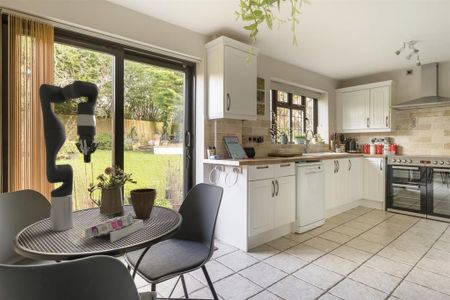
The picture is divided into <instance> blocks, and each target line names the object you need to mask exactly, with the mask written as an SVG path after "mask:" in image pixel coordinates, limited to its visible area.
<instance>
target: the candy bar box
mask: <svg viewBox="0 0 450 300" xmlns="http://www.w3.org/2000/svg"><path fill="white" fill-rule="evenodd" d="M119 217H120V218H117V219H114V220H111V221H108V222H105V223H102V222H101V223H102V224H99V223H98V224H99V225H96V224H95V225H96V226H93V225H92V226H93V227H91V229H92V233H93V235H92V236H93V238H95V237H101V236H104V235H106V234H110V233H111V232H114V231H116V230H119V229H121V228H123V227H126V226H129V225H131V224H134V219H135V218H134V216H133V214H132V213H130V214H126V215H122V216H119Z"/></svg>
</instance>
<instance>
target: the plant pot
mask: <svg viewBox="0 0 450 300" xmlns="http://www.w3.org/2000/svg"><path fill="white" fill-rule="evenodd" d="M156 195H157V189H156V188H151V187H149V188H147V187H145V188H136V189H135V188H134V189H132V190H130V191H129V196H130V200H131V205H132V208H133V209H132V210H133V211H134V214H135V217H136V219H139V220H143V219H144V220H145V219H149V218H150V217H151V215H152V212H153V208H154V204H155V202H156Z"/></svg>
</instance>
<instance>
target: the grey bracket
mask: <svg viewBox="0 0 450 300" xmlns="http://www.w3.org/2000/svg"><path fill="white" fill-rule="evenodd" d="M120 217H121V216H116V217H113V218H111V219H107V220H105V221H101V222H99V223H97V224H94V225H91V226H89V227H86V228H84V238H88V237H90V236H93V233H92V229H91V227H93V226H96V225H99V224H102V223H105V222H108V221H111V220H114V219H117V218H120ZM133 219H134V224H131V225H129V226H126V227H123V228H120V229H118V230H115V231H112V232H109V235H110V243H114V242H115V241H118V240H120V239H123V238H124V237H126V236H128V235H131V234H133V233H135V232H136V231H139V230H141V229H143V228H144V220H143V219H138V218H133Z"/></svg>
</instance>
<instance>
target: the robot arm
mask: <svg viewBox="0 0 450 300" xmlns="http://www.w3.org/2000/svg"><path fill="white" fill-rule="evenodd" d="M99 91H100V90H99V87H98V85H97V84H96V83H94V82H90V81H89V82H88V81H85V80H78V79H77V80H74V81H73V82H72V83H69V84H66V85H65V86H63V87H62V86H58V85H53V84H48V83H43V84H40V86H39V90H38V96H39V101H40V107H41V112H42V122H43V123H42V124H43V136H44V137H43V138H44V145H45V159H46V160H45V163H46V164H45V167H46V168H45V170H46V171H45V176H46V180H47V182H48V183H49V184H57V183H59V184H60V183H62V184H61V185H60V186H59V187H57V188H54V189H51V192H50V211H49V213H50V214H49V215H50V217H49V218H50V230H51V231H52V232H64V231H68V230H70V229H72V228H73V227H74V219H73V218H74V217H73V216H74V214H73V211H74V209H73V189H74V187H73V186H74V169H73V166H72V165H71V164H69V163H68V164H67V163H66V164H65V163H63V164H62V163H61V164H57V162H56V161H57V156H58V154H59V152H60V151H61V149H62V148H63V146H64V144H65V143H66V141H67V135H66V126H65V124H64V123H63V121H62V120H61V119H60V118H59V117H58V115H57V114H56V113H55V111H54V108H53V106H52V104H59V105H60V104H63V103H65V102H68V101H70V100H76V99H81V98H87V100H86V101H80V102H78V103H77V107H76V109H77V112H76V113H77V116H76V118H77V119H76V133H77V136H79V138H78V142H75V143H74V144H75V147H76V149H77V150H78V152H79V154H82V155H83V163H85V164H91V162H92V154H94V153H95V152H96V150H97V149H98V147H99V144H100V142H97V141H96V138H95V136H96V135H97V133H96V132H97V131H96V130H97V125H96V123H97V122H96V121H97V120H96V108H95V107H96V103H97V99H98V97H99Z"/></svg>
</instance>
